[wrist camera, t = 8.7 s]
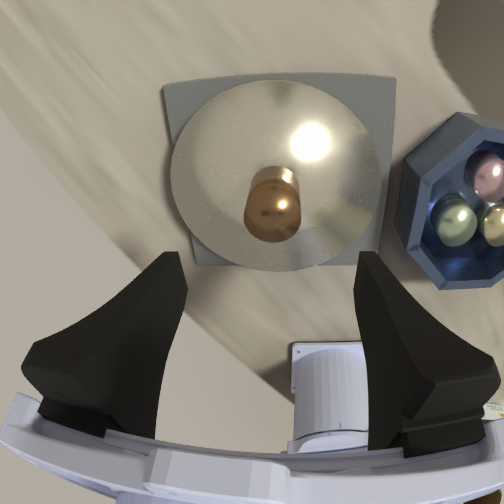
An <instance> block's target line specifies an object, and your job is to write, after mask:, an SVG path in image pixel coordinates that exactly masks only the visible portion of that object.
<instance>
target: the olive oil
mask: <svg viewBox="0 0 504 504" xmlns="http://www.w3.org/2000/svg"><path fill="white" fill-rule="evenodd" d="M500 501H501V488H500V489H498V490H496V491H494V492H492V493H490V494H487V495H484V496H481V497H479V498H476V499H473V500H470V501H467V502H464V504H500Z"/></svg>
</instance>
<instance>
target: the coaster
mask: <svg viewBox="0 0 504 504" xmlns="http://www.w3.org/2000/svg"><path fill="white" fill-rule="evenodd" d="M261 80H287V81H294V82H299V83H303V84H306V85H310V86H313V87H315V88H317V89H320V90H322V91H324V92H326V93H328V94H330V95H331V96H333V97H334V98H336V99H337V100H339V101H340V102H342V103H343V104H344V105H345V106H346V107H347V108H349V109H350V110H351V111H352V112H353V113H354V115H355V116H356V117H357V118H358V119H359V120H360V122H361V123H362V124H363V125H364V127H365V128H366V130H367V132H368V133H369V135H370V136H371V139H372V141H373V143H374V145H375V148H376V150H377V154H378V158H379V161H380V168H381V190H380V196H379V201H378V204H377V207H376V210H375V213H374V215H373V217H372V219H371V221H370V223H369V224H368V226H367V227H366V229H365V230H364V232H363V233H362V234H361V235H360V236H359V237H358V239H357V240H356V241H355V242H354V243H353V244H351V245H350V246H349V247H348V248H347V249H346V250H344V251H343V252H341V253H340V254H338V255H337V256H335V257H333V258H331V259H330V260H328V261H326V262H323V263H321V264H318V265H357V264H358V258H359V251H375V252H376V253H377V254H378V248H379V243H380V237H381V231H382V225H383V219H384V212H385V205H386V198H387V190H388V182H389V174H390V165H391V155H392V144H393V132H394V117H395V98H396V78H394V77H386V76H375V75H362V74H344V73H267V74H250V75H236V76H225V77H215V78H206V79H198V80H191V81H183V82H177V83H170V84H166V85H163V90H164V96H165V103H166V109H167V115H168V121H169V127H170V133H171V138H172V144H173V149H174V148H175V145H176V143H177V140H178V138H179V136H180V134H181V132H182V130H183V129H184V127H185V126H186V124H187V123H188V121H189V120H190V119H191V118H192V117H193V115H194V114H195V113H196V112H197V111H198V110H199V109H200V108H201V107H203V106H204V105H205V104H206V103H207V102H209V101H210V100H211V99H213V98H214V97H216V96H217V95H219V94H221V93H222V92H224V91H226V90H229V89H231V88H233V87H235V86H238V85H242V84H245V83H249V82H253V81H261ZM189 230H190V229H189ZM190 234H191V239H192V243H193V248H194V252H195V257H196V261H197V265H239V264H236V263H233V262H231V261H229V260H227V259H225V258H223V257H221V256H220V255H218V254H216V253H215V252H213V251H212V250H210V249H209V248H208V247H207V246H205V245H204V244H203V243H202V242H201V241H200V240H199V239H198V238H197V237H196V236H195V235H194V234H193V233H192V232H191V230H190Z"/></svg>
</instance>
